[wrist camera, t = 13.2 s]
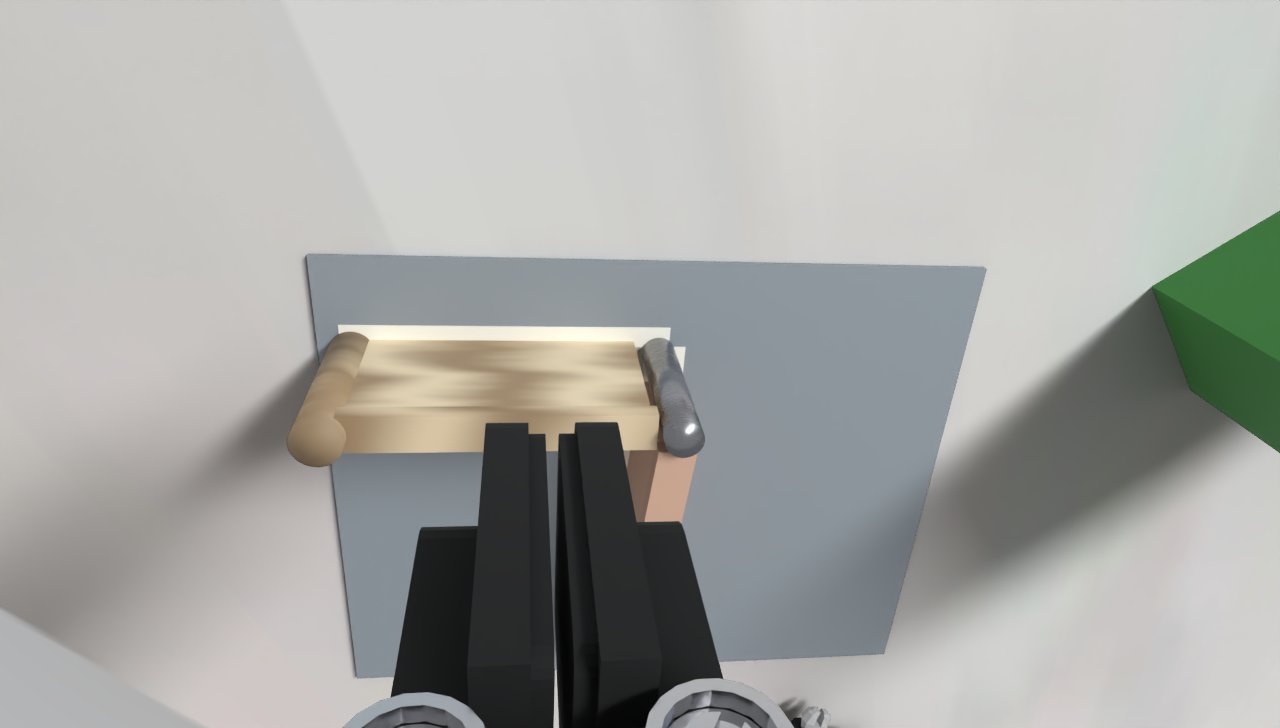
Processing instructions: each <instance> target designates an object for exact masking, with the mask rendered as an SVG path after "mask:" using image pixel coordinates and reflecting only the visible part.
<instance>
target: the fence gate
mask: <svg viewBox="0 0 1280 728" xmlns="http://www.w3.org/2000/svg"><path fill="white" fill-rule="evenodd" d="M644 383H645V387H646V391H647V395H648V398H649V402H650V406H655V405H654V401H653V397H652V394H651V390H650V386H649V383H648V382H645V381H644ZM696 458H697V454H695V455H694V456H691V457H688V458H679V457H675V456H673V455H672V454H670V453H669V452H668V450H667V449H666V446H665V442H664V438H663V435H662V431H661V427H660V424H659V428H658V439H657V450H630V454H629V460H628V465H627V473H628V478H629V484H630V489H631V494H632V500H633V505H634V510H635V516H636V521H637V522H665V521H679V522H680V523H682V518H683V514H684V510H685V505H686V501H687V497H688V492H689V488H690V484H691V480H692V475H693V471H694V467H695V462H696Z"/></svg>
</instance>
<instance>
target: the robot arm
mask: <svg viewBox="0 0 1280 728" xmlns="http://www.w3.org/2000/svg"><path fill="white" fill-rule="evenodd" d="M554 614H555V640H556V663H557V686H558V709H559V728H794V727H793V725H792V723H791V722H790V721H789V719H788V718H787V716H786V715H785V714H784V712H783V711H782V709H781V708H780V707H779V706H778V705H777V704H775V703H774V702H773V701H772V700H771V699H769V698H768V697H767V696H766V695H764V694H763V693H762V692H760V691H758V690H755V689H753V688H751V687H749V686H747V685H745V684H743V683H740V682H735V681H730V680H725V679H723V676H722V672H721V669H720V665H719V661H718V657H717V653H716V650H715V646H714V642H713V638H712V634H711V630H710V627H709V623H708V619H707V615H706V611H705V608H704V604H703V600H702V596H701V592H700V588H699V585H698V581H697V577H696V573H695V569H694V566H693V562H692V558H691V554H690V550H689V546H688V543H687V539H686V535H685V532H684V529H683V526H682V524H681V523H680V522H679V521H665V522H637V521H636V516H635V510H634V505H633V500H632V494H631V489H630V484H629V478H628V473H627V468H626V462H625V457H624V452H623V446H622V441H621V435H620V430H619V425H618V423H617V422H575V429H574V433H562V434H559V437H558V472H557V512H556V552H555V593H554ZM554 677H555V665H554V626H553V602H552V578H551V554H550V530H549V506H548V482H547V458H546V435H545V434H529V423H486V425H485V437H484V451H483V464H482V477H481V490H480V503H479V516H478V526H448V527H421V529H420V531H419V536H418V541H417V546H416V552H415V558H414V564H413V570H412V576H411V581H410V587H409V593H408V599H407V605H406V611H405V617H404V622H403V628H402V634H401V640H400V646H399V652H398V657H397V663H396V669H395V675H394V681H393V687H392V692H391V698H387V699H384V700H381V701H379V702H377V703H375V704H373V705H371V706H370V707H368V708H366V709H364V710H363V711H361V712H359V713H357V714H356V715H355V716H354V717H353V718H352V719H351V720H350V721H349V722H348V723H347V724H346V725H345V726H344V727H343V728H553V720H554Z"/></svg>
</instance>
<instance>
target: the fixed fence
mask: <svg viewBox="0 0 1280 728" xmlns="http://www.w3.org/2000/svg"><path fill="white" fill-rule="evenodd" d="M641 356H642V360H643V364H644V368H645V371H646V375H647V379H648V383H649V386H650V390H651V394H652V397H653V401H654V405H655V406H650V402H649V398H648V395H647V391H646V387H645V383H644V379H643V375H642V371H641V368H640V364H639V360H638V356H637V352H636V348H635V344H634V341H492V340H369V339H368V338H367V337H365V336H364V335H362V334H360V333H357V332H343V333H340V334H338V335H336V336H335V337H334V338H333V339H332V341H331V343H330V345H329V347H328V349H327V351H326V354H325V356H324V358H323V360H322V362H321V365H320V367H319V369H318V371H317V373H316V376H315V378H314V380H313V382H312V384H311V387H310V389H309V391H308V393H307V395H306V397H305V400H304V402H303V404H302V406H301V408H300V411H299V413H298V415H297V417H296V419H295V422H294V424H293V426H292V428H291V430H290V433H289V435H288V437H287V447H288V450H289V452H290V454H291V455H292V456H293V457H294V458H295V459H296V460H297V461H299V462H300V463H302V464H304V465H307V466H311V467H323V466H327V465H330V464H332V463H334V462H335V461H336V460H338V458H339V457H340V456H341V454H348V453H436V452H483V451H484V437H485V425H486V423H529V434H545V435H546V451H558V437H559V434H562V433H574V429H575V422H617V423H618V425H619V430H620V435H621V441H622V446H623V450H657V439H658V428H659V424H660V427H661V431H662V435H663V438H664V442H665V446H666V449H667V450H668V452H669V453H670V454H672V455H673V456H675V457H679V458H688V457H691V456H694V455H695V454H697V453H698V452H699V451H700V450H701V449H702V448H703V446H704V443H705V435H704V432H703V429H702V426H701V423H700V420H699V418H698V415H697V412H696V409H695V406H694V403H693V400H692V398H691V395H690V392H689V389H688V386H687V383H686V380H685V378H684V375H683V372H682V369H681V366H680V363H679V360H678V358H677V355H676V352H675V349H674V346H673V344H672V343H671V342H670V341H669V340H667V339H664V338H654V339H651V340H649V341H648V342H647V343H646V344H645V345H644V346H643V348H642V351H641Z"/></svg>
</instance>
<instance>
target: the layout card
mask: <svg viewBox="0 0 1280 728" xmlns="http://www.w3.org/2000/svg"><path fill="white" fill-rule="evenodd" d="M306 257H307V265H308V274H309V282H310V290H311V299H312V307H313V315H314V324H315V332H316V340H317V349H318V357H319V365H321V362H322V360H323V358H324V356H325V354H326V351H327V349H328V347H329V345H330V343H331V341H332V339H333V338H334V337H335V336H336V335H338V334H340V333H343V332H357V333H360V334H362V335H364V336H365V337H367V338H368V339H369V340H492V341H634V344H635V348H636V352H637V356H638V360H639V364H640V368H641V371H642V375H643V379H644V381H645V382H648V379H647V375H646V371H645V368H644V364H643V360H642V356H641V351H642V348H643V346H644V345H645V344H646V343H647V342H648V341H649V340H651V339H654V338H664V339H667V340H669V341H670V342H671V343H672V344H673V346H674V349H675V352H676V355H677V358H678V360H679V363H680V366H681V369H682V372H683V375H684V378H685V380H686V383H687V386H688V389H689V392H690V395H691V398H692V400H693V403H694V406H695V409H696V412H697V415H698V418H699V420H700V423H701V426H702V429H703V432H704V435H705V443H704V446H703V448H702V449H701V450H700V451H699V452H698V453H697V458H696V462H695V467H694V471H693V475H692V480H691V484H690V488H689V492H688V497H687V501H686V505H685V510H684V514H683V518H682V523H681V524H682V526H683V529H684V532H685V535H686V539H687V543H688V546H689V550H690V554H691V558H692V562H693V566H694V569H695V573H696V577H697V581H698V585H699V588H700V592H701V596H702V600H703V604H704V608H705V611H706V615H707V619H708V623H709V627H710V630H711V634H712V638H713V642H714V646H715V650H716V653H717V657H718V661H719V662H724V661H746V660H767V659H789V658H811V657H832V656H854V655H876V654H884V652H885V648H886V645H887V641H888V637H889V633H890V630H891V626H892V622H893V618H894V615H895V611H896V607H897V604H898V600H899V596H900V592H901V589H902V585H903V581H904V577H905V574H906V570H907V566H908V562H909V559H910V555H911V551H912V547H913V544H914V540H915V536H916V532H917V529H918V525H919V521H920V517H921V514H922V510H923V506H924V502H925V499H926V495H927V491H928V487H929V484H930V480H931V476H932V472H933V469H934V465H935V461H936V457H937V454H938V450H939V446H940V442H941V439H942V435H943V431H944V427H945V424H946V420H947V416H948V412H949V409H950V405H951V401H952V397H953V394H954V390H955V386H956V382H957V379H958V375H959V371H960V367H961V364H962V360H963V356H964V352H965V349H966V345H967V341H968V337H969V334H970V330H971V326H972V322H973V319H974V315H975V311H976V307H977V304H978V300H979V296H980V292H981V289H982V285H983V281H984V277H985V274H986V270H987V269H986V268H984V267H962V266H910V265H858V264H806V263H754V262H702V261H650V260H598V259H546V258H494V257H442V256H390V255H338V254H308V255H307V256H306ZM623 452H624V457H625V462H626V468H627V465H628V460H629V454H630V450H623ZM546 458H547V482H548V506H549V530H550V554H551V578H552V602H553V626H554V665H555V669H557V663H556V640H555V614H554V593H555V552H556V512H557V472H558V451H546ZM482 464H483V452H436V453H348V454H341V456H340V457H339V458H338V460H336V461H335V462H334V463H332V464H331V465H332V473H333V482H334V490H335V498H336V507H337V515H338V523H339V532H340V540H341V548H342V557H343V565H344V573H345V582H346V590H347V598H348V607H349V615H350V623H351V632H352V640H353V648H354V657H355V665H356V673H357V678H378V677H394V675H395V669H396V663H397V657H398V652H399V646H400V640H401V634H402V628H403V622H404V617H405V611H406V605H407V599H408V593H409V587H410V581H411V576H412V570H413V564H414V558H415V552H416V546H417V541H418V536H419V531H420V529H421V527H448V526H478V516H479V503H480V490H481V477H482Z"/></svg>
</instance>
